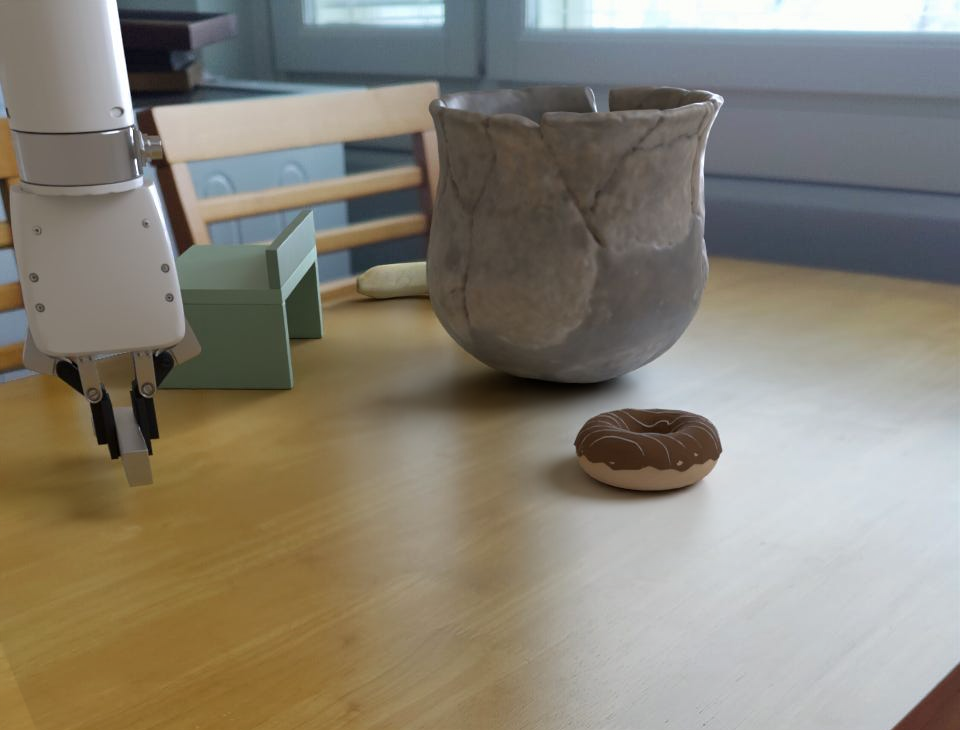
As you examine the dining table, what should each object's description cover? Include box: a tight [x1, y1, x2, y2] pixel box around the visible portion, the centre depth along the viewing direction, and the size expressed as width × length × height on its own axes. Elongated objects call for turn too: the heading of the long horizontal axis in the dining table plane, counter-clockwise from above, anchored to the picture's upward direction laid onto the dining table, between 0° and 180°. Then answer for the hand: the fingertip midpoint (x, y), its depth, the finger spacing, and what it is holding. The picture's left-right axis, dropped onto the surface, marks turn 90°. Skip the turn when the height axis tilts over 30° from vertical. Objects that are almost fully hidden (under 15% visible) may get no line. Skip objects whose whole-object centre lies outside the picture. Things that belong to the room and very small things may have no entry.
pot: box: [425, 85, 725, 384], centre depth 103 cm, size 25×24×21 cm
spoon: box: [90, 406, 154, 488], centre depth 86 cm, size 14×4×2 cm, turn 19°
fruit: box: [355, 261, 430, 299], centre depth 131 cm, size 7×15×3 cm, turn 77°
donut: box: [572, 407, 723, 491], centre depth 88 cm, size 11×11×4 cm
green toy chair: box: [152, 209, 325, 390], centre depth 110 cm, size 12×18×11 cm, turn 177°
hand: (130, 449), depth 87 cm, fingers closed on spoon, 1 cm apart
